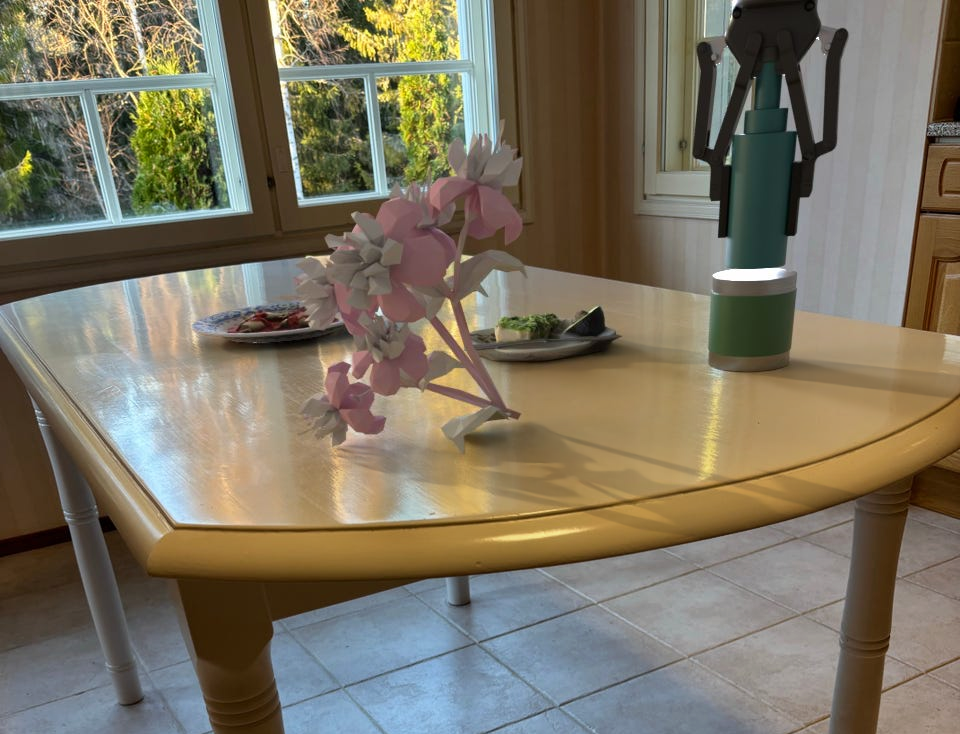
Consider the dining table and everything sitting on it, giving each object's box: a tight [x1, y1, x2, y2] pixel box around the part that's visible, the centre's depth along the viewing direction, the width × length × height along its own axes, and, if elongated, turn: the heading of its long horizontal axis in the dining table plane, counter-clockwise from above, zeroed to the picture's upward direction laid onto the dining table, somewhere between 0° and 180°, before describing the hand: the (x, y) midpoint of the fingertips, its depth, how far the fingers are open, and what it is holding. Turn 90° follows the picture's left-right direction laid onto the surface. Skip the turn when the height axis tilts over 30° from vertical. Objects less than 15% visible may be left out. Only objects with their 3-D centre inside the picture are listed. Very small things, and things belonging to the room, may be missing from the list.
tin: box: [707, 267, 798, 373], centre depth 98 cm, size 9×9×9 cm
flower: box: [277, 118, 528, 455], centre depth 79 cm, size 20×22×25 cm
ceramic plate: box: [190, 300, 346, 344], centre depth 134 cm, size 26×26×3 cm
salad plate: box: [461, 305, 623, 362], centre depth 111 cm, size 19×18×5 cm
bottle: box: [724, 46, 798, 270], centre depth 91 cm, size 6×6×19 cm
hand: (757, 235), depth 94 cm, fingers closed on bottle, 6 cm apart
